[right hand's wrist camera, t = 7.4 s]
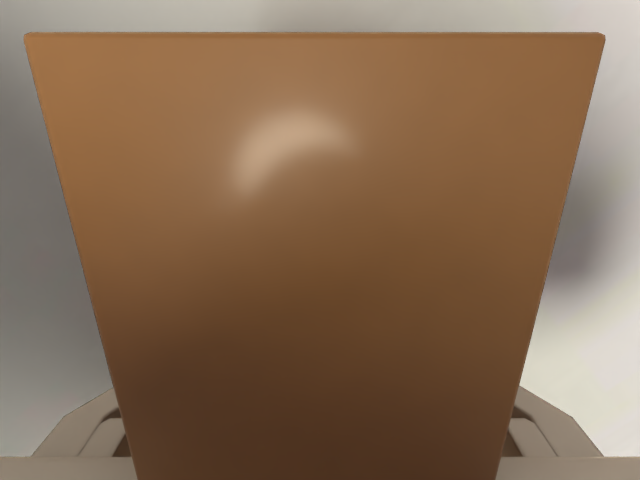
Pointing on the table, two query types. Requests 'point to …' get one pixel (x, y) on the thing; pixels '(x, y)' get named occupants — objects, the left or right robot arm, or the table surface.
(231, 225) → the post
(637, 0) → the table surface
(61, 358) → the table surface
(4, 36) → the table surface
